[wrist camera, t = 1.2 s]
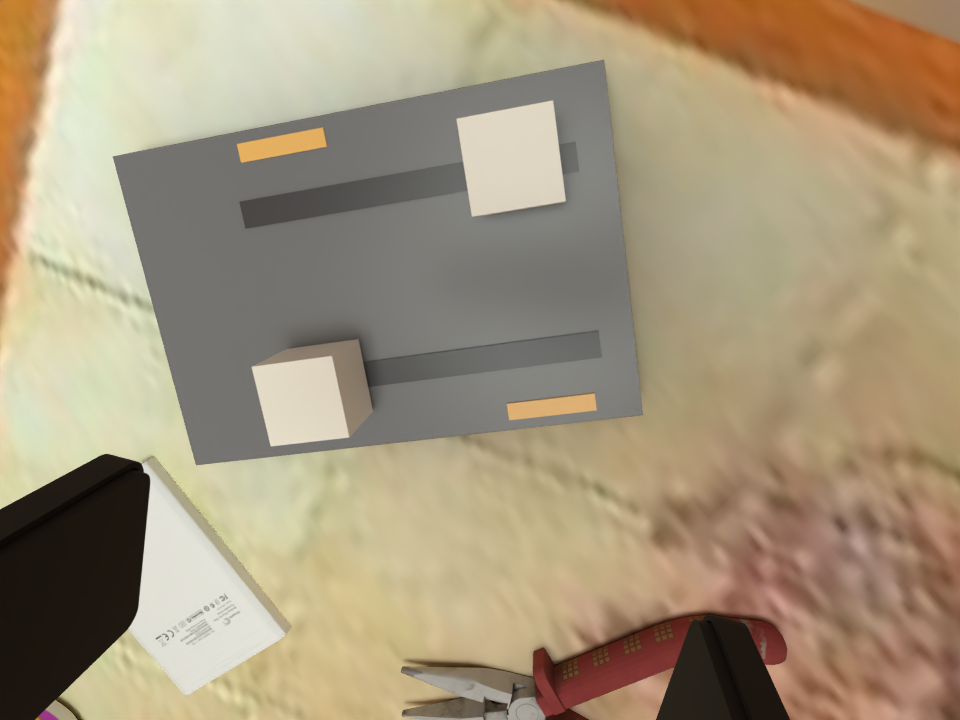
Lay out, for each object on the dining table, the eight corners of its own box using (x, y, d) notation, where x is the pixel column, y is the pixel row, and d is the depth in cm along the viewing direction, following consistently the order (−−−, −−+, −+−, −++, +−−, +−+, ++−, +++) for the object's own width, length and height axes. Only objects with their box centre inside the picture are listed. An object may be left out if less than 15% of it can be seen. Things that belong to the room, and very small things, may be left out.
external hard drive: (161, 451, 35) (296, 620, 37) (64, 522, 37) (196, 680, 39) (142, 462, 34) (284, 638, 35) (42, 536, 36) (181, 700, 37)
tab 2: (553, 114, 26) (553, 100, 22) (564, 202, 26) (565, 201, 23) (469, 130, 26) (456, 118, 23) (482, 215, 27) (471, 216, 24)
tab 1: (358, 338, 29) (331, 355, 25) (373, 411, 30) (349, 437, 26) (286, 348, 29) (251, 366, 26) (302, 420, 30) (270, 446, 27)
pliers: (402, 588, 35) (390, 617, 33) (779, 610, 33) (798, 643, 30) (410, 757, 38) (400, 796, 35) (759, 788, 36) (774, 832, 33)
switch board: (600, 72, 28) (604, 59, 25) (636, 399, 31) (643, 415, 28) (147, 160, 31) (111, 156, 28) (221, 447, 34) (194, 465, 32)
